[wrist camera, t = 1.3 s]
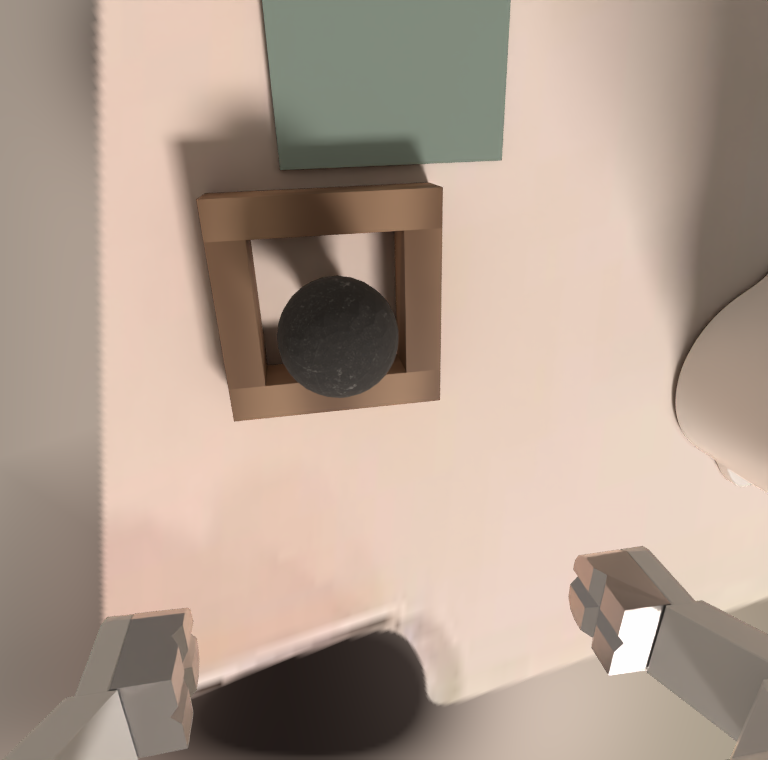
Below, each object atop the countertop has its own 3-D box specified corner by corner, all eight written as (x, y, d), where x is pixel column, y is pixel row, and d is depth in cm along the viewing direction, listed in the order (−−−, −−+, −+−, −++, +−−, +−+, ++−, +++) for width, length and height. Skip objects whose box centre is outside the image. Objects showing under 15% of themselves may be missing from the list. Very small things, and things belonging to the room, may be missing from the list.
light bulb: (389, 319, 33) (427, 389, 24) (304, 355, 33) (310, 439, 24) (354, 231, 30) (381, 273, 21) (262, 271, 30) (251, 329, 21)
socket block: (428, 182, 30) (442, 187, 27) (428, 379, 35) (439, 400, 32) (204, 193, 28) (196, 199, 25) (238, 398, 33) (234, 421, 30)
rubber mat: (511, -67, 26) (514, -70, 25) (499, 160, 30) (501, 160, 29) (254, -71, 24) (254, -74, 24) (280, 169, 28) (280, 170, 28)
